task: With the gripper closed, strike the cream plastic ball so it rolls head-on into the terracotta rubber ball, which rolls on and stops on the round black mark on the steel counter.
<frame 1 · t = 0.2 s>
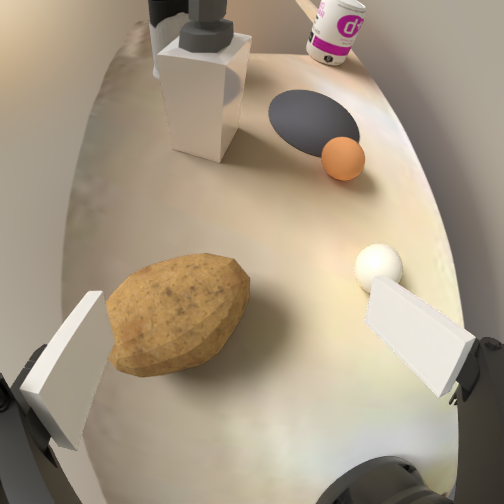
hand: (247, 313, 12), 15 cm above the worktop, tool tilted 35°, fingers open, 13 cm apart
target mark: (315, 120, 36), on the worktop
supplement can: (324, 57, 42), on the worktop
object ball: (343, 158, 31), on the worktop
potato: (181, 316, 26), on the worktop
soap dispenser: (197, 135, 32), on the worktop
cue ball: (378, 268, 27), on the worktop
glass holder: (175, 61, 37), on the worktop
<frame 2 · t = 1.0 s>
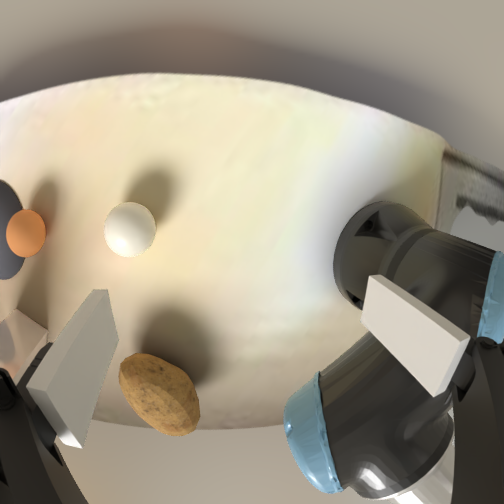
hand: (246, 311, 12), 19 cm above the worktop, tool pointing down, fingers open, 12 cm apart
object ball: (25, 233, 23), on the worktop
potato: (162, 372, 34), on the worktop
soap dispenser: (29, 339, 29), on the worktop
cue ball: (129, 229, 25), on the worktop
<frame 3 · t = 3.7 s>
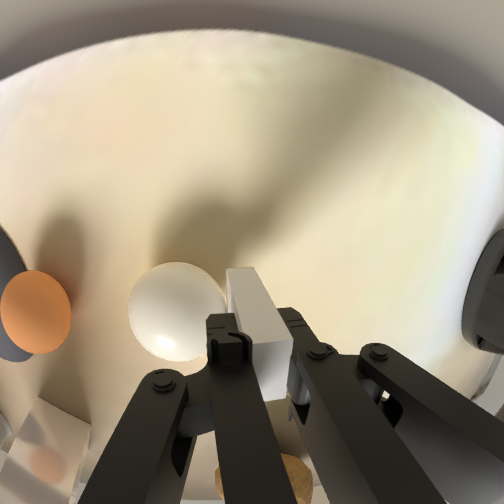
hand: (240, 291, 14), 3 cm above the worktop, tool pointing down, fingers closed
object ball: (35, 312, 13), on the worktop
potato: (258, 456, 23), on the worktop
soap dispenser: (64, 429, 19), on the worktop
cue ball: (177, 311, 14), on the worktop
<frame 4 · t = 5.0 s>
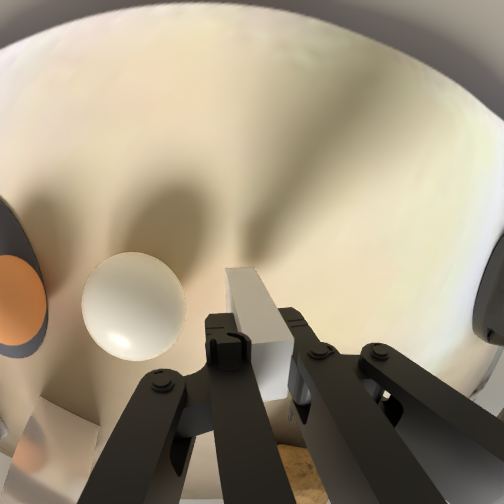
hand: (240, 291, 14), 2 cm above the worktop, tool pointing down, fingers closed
object ball: (8, 300, 11), on the worktop
potato: (276, 452, 23), on the worktop
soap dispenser: (68, 430, 18), on the worktop
cue ball: (133, 306, 12), on the worktop
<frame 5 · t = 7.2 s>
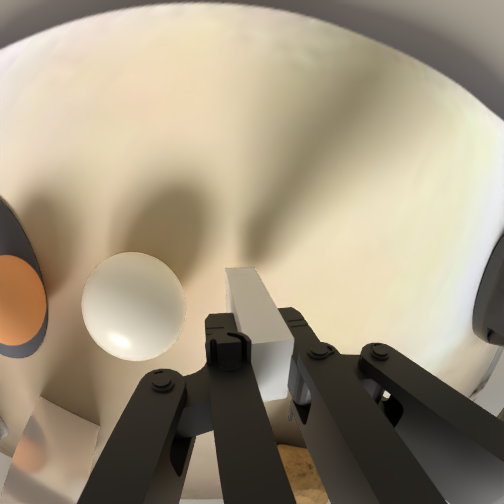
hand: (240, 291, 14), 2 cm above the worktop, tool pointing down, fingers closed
object ball: (8, 300, 11), on the worktop
potato: (276, 452, 23), on the worktop
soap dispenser: (68, 430, 18), on the worktop
cue ball: (133, 306, 12), on the worktop
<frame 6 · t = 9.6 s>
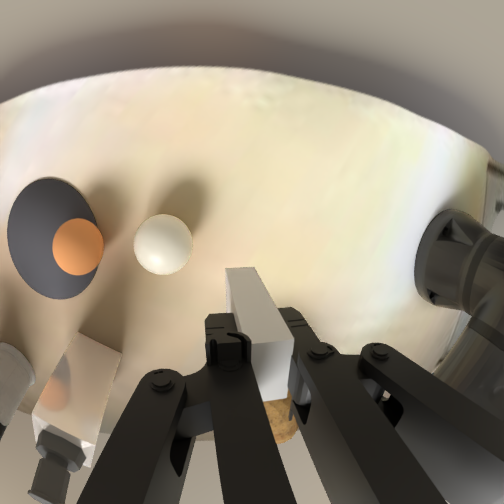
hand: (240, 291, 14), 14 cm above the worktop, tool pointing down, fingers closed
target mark: (48, 241, 24), on the worktop
object ball: (77, 246, 22), on the worktop
potato: (255, 383, 34), on the worktop
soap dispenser: (93, 364, 29), on the worktop
cue ball: (163, 244, 24), on the worktop
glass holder: (7, 364, 27), on the worktop
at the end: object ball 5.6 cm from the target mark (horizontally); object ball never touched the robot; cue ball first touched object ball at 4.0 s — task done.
